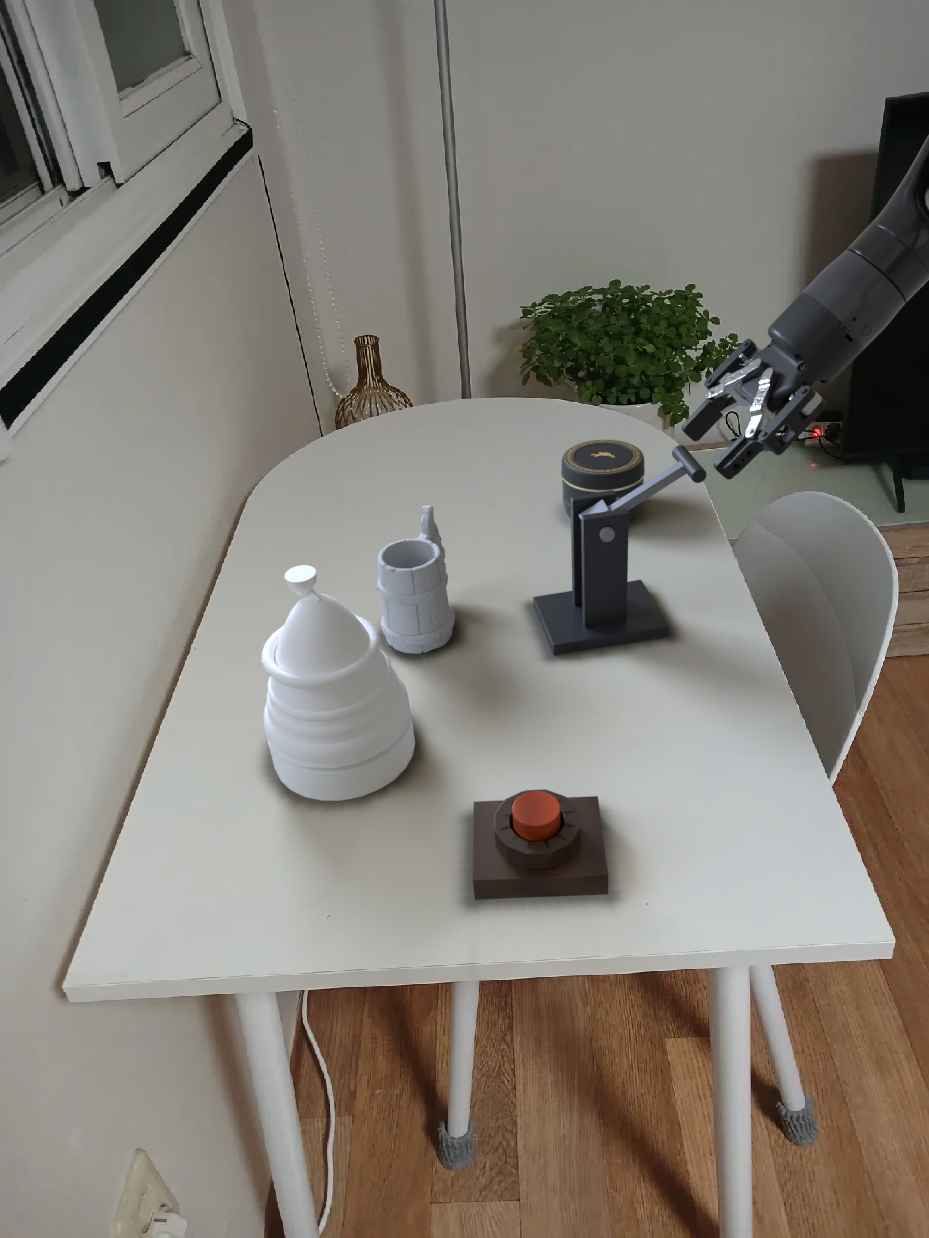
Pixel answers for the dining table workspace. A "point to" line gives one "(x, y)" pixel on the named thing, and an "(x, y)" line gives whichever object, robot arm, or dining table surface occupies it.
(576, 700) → the dining table surface
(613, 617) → the dark stand
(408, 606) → the mug
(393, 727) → the honey pot
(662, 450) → the dining table surface
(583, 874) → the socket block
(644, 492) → the switch lever
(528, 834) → the button
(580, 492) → the jar
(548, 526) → the dining table surface
